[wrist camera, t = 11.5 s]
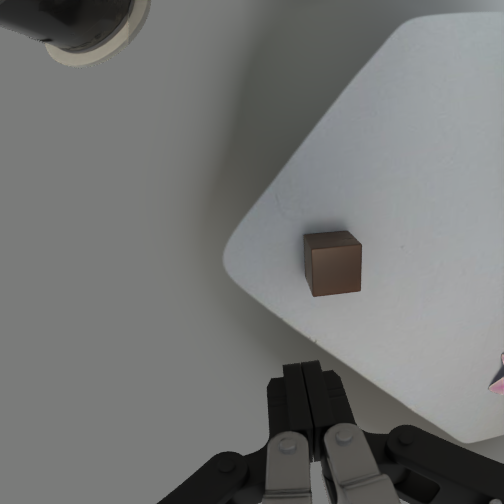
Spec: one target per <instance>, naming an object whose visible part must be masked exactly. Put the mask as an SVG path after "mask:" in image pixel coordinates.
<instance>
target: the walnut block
mask: <svg viewBox="0 0 504 504" xmlns="http://www.w3.org/2000/svg"><path fill="white" fill-rule="evenodd" d="M303 238H304V257H305V277H306V280H307V282H308V285H309V288H310V290H311V293H312V296H313V297H317V296H325V295H334V294H342V293H350V292H358V291H361V264H362V244H361V243H360V242H359V241H358V240H357V239H356V238H355V237H354V236H353V235H352V234H350V233H349V232H348V231H338V232H327V233H316V234H305V235H303Z"/></svg>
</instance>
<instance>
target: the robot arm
mask: <svg viewBox="0 0 504 504" xmlns="http://www.w3.org/2000/svg"><path fill="white" fill-rule="evenodd" d="M134 2H135V0H0V27H3V28H6V29H9V30H12V31H15V32H18V33H20V34H24V35H26V36H29V37H32V38H34V39H37V40H40V41H42V42H45V43H47V44H50V45H53V46H55V47H57V48H59V49H60V50H62V51H65V52H68V53H72V54H81V53H87V52H90V51H93V50H95V49H97V48H99V47H101V46H103V45H104V44H106V43H107V42H108V41H110V40H111V39H112V38H113V37H114V36H115V35H116V34H117V33H118V32H119V31H120V30H121V29H122V28H123V27H124V25H125V24H126V22H127V21H128V19H129V17H130V15H131V13H132V10H133V7H134ZM47 44H46V45H47ZM283 374H284V377H280V378H271V380H270V382H269V384H268V386H267V398H268V415H269V433H270V434H269V440H268V442H267V443H266V445H265V446H264V447H263V448H261V449H260V450H258V451H256V452H254V453H251V454H248V455H245V456H242V455H240V454H239V453H236V452H229V451H227V452H221V453H219V454H216V455H215V456H213V457H212V458H211V459H210V460H209V461H207V462H206V463H205V464H204V465H203V466H202V467H201V468H199V469H198V470H197V471H196V472H195V473H194V474H193V475H191V476H190V477H189V478H188V479H187V480H185V481H184V482H183V483H182V484H181V485H179V486H178V487H177V488H176V489H175V490H174V491H172V492H171V493H170V494H168V495H167V496H166V497H165V498H163V499H162V500H161V501H160V502H158V503H157V504H258V503H261V502H262V504H312V492H311V481H310V462H313V457H314V462H316V461H321V466H322V480H323V483H324V487H325V490H326V493H327V497H328V501H329V504H401V502H400V500H399V498H400V499H402V500H404V501H406V502H408V503H410V504H504V464H502V463H499V462H497V461H494V460H492V459H489V458H487V457H484V456H482V455H479V454H477V453H474V452H472V451H469V450H467V449H465V448H462V447H460V446H458V445H455V444H453V443H451V442H448V441H446V440H444V439H442V438H439V437H437V436H435V435H433V434H430V433H428V432H426V431H424V430H422V429H420V428H417V427H415V426H412V425H401V426H398V427H396V428H394V429H393V430H391V432H390V433H389V434H374V433H368V432H365V431H364V430H362V429H360V428H359V427H358V426H357V424H356V423H355V420H354V417H353V414H352V411H351V408H350V405H349V402H348V399H347V396H346V393H345V390H344V388H343V384H342V381H341V378H340V377H339V376H338V375H337V374H336V373H335V372H334V371H333V370H330V371H323V372H322V370H321V366H320V362H319V360H316V361H309V362H302V363H301V364H300V363H294V364H287V365H283Z"/></svg>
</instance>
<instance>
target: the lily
mask: <svg viewBox="0 0 504 504" xmlns="http://www.w3.org/2000/svg"><path fill="white" fill-rule="evenodd" d="M501 357H502V361H503V364H504V354H502V355H501ZM488 389H489V390H490V391H492V392H495V393H498V394H502V395H504V377H503V378H501V379H500V380H498V381H497V382H495V383H494V384H492V385H491V386H490V387H489V388H488Z"/></svg>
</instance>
